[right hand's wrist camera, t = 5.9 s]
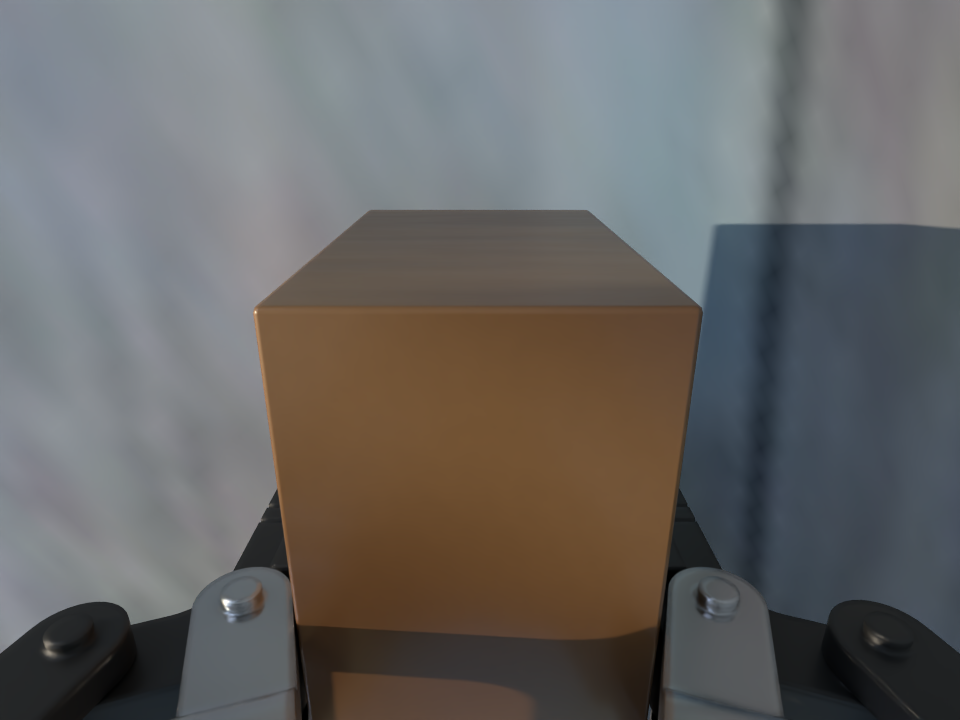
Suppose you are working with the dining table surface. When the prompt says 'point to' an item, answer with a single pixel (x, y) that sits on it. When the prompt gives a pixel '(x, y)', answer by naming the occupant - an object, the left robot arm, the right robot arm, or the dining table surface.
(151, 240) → the dining table surface
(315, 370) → the bar
